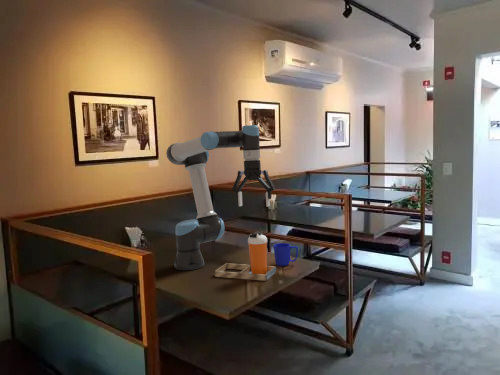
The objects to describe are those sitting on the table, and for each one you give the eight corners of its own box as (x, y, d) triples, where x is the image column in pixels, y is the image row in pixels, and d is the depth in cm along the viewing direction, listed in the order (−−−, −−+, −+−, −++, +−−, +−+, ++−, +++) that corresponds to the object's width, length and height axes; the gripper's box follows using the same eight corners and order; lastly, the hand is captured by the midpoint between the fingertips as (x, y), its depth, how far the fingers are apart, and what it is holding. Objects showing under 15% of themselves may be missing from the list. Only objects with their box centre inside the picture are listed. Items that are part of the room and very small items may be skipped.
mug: (297, 267, 202) (296, 247, 201) (273, 267, 204) (272, 247, 203) (299, 262, 210) (298, 243, 209) (275, 262, 212) (274, 243, 211)
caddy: (214, 276, 194) (213, 271, 194) (226, 268, 207) (226, 263, 206) (266, 280, 184) (266, 275, 184) (276, 271, 197) (275, 266, 196)
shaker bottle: (271, 272, 195) (269, 231, 193) (264, 278, 187) (262, 235, 185) (254, 271, 199) (252, 230, 197) (246, 277, 191) (244, 234, 189)
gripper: (223, 161, 189) (226, 207, 191) (275, 159, 179) (277, 207, 182) (230, 160, 196) (232, 204, 198) (280, 158, 186) (282, 205, 188)
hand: (254, 206), depth 190 cm, fingers open, 13 cm apart
